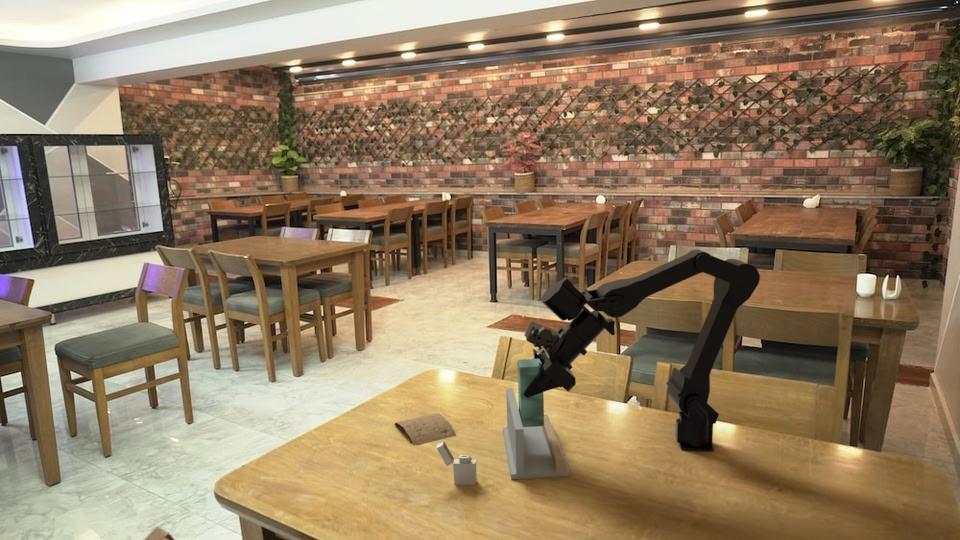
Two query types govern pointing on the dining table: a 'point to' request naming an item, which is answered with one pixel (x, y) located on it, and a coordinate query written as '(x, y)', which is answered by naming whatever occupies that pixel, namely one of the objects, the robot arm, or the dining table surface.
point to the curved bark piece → (427, 429)
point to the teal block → (534, 405)
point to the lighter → (459, 466)
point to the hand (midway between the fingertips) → (523, 391)
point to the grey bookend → (531, 446)
